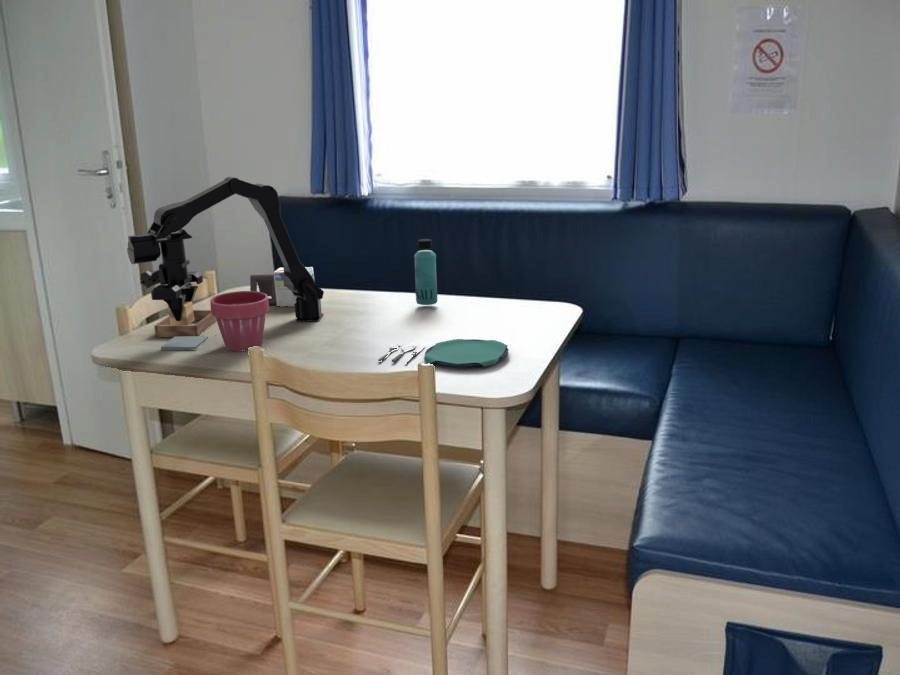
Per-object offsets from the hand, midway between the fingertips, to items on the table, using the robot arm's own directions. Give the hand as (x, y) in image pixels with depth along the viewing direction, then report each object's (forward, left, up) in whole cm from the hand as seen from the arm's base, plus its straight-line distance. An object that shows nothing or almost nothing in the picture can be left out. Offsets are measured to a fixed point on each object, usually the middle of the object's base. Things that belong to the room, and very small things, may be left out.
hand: (182, 318), depth 209 cm
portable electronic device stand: (-9, -41, -7) cm, 43 cm away
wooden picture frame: (+5, -14, -7) cm, 17 cm away
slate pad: (0, 0, -7) cm, 7 cm away
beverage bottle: (-59, -34, -7) cm, 68 cm away
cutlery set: (-68, +10, -8) cm, 69 cm away
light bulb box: (-19, -39, -7) cm, 44 cm away
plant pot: (-16, +1, -7) cm, 18 cm away
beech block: (0, 0, -1) cm, 1 cm away
